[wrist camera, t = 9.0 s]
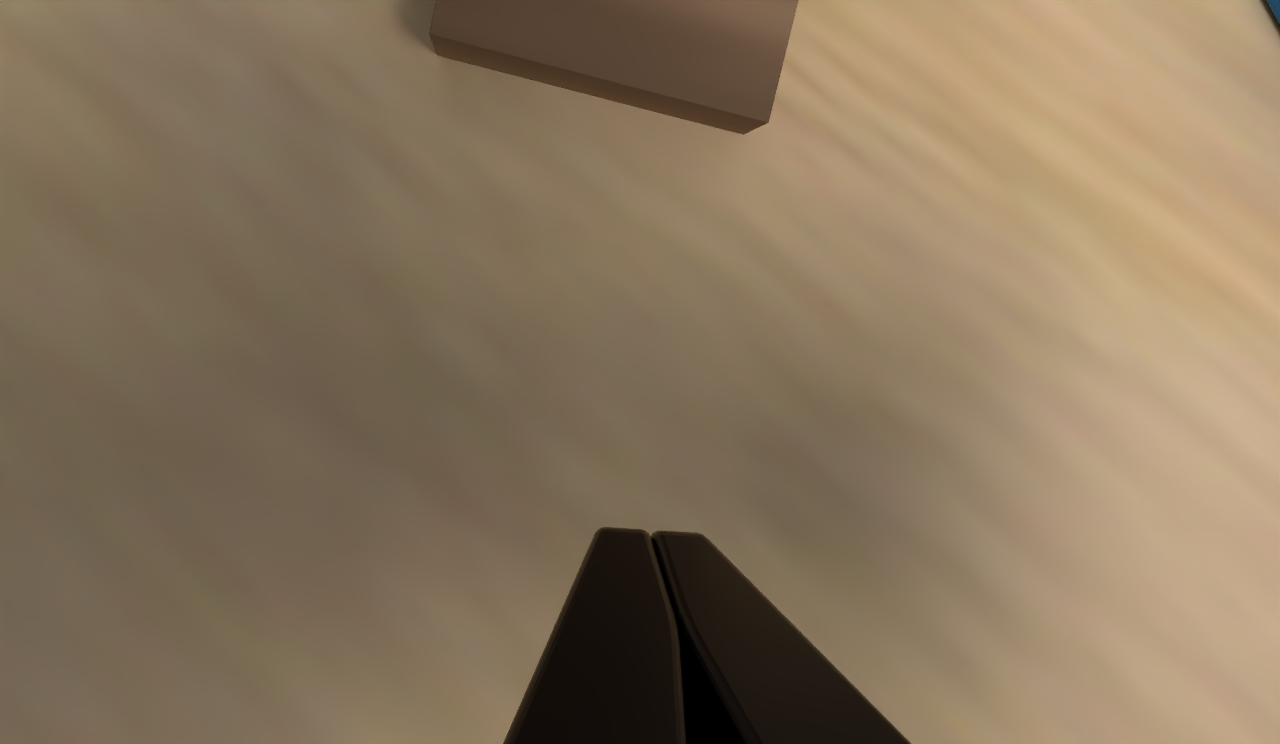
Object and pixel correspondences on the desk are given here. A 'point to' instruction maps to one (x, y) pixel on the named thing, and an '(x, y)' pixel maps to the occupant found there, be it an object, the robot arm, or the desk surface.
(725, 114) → the domino
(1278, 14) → the ink box
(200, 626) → the desk surface
